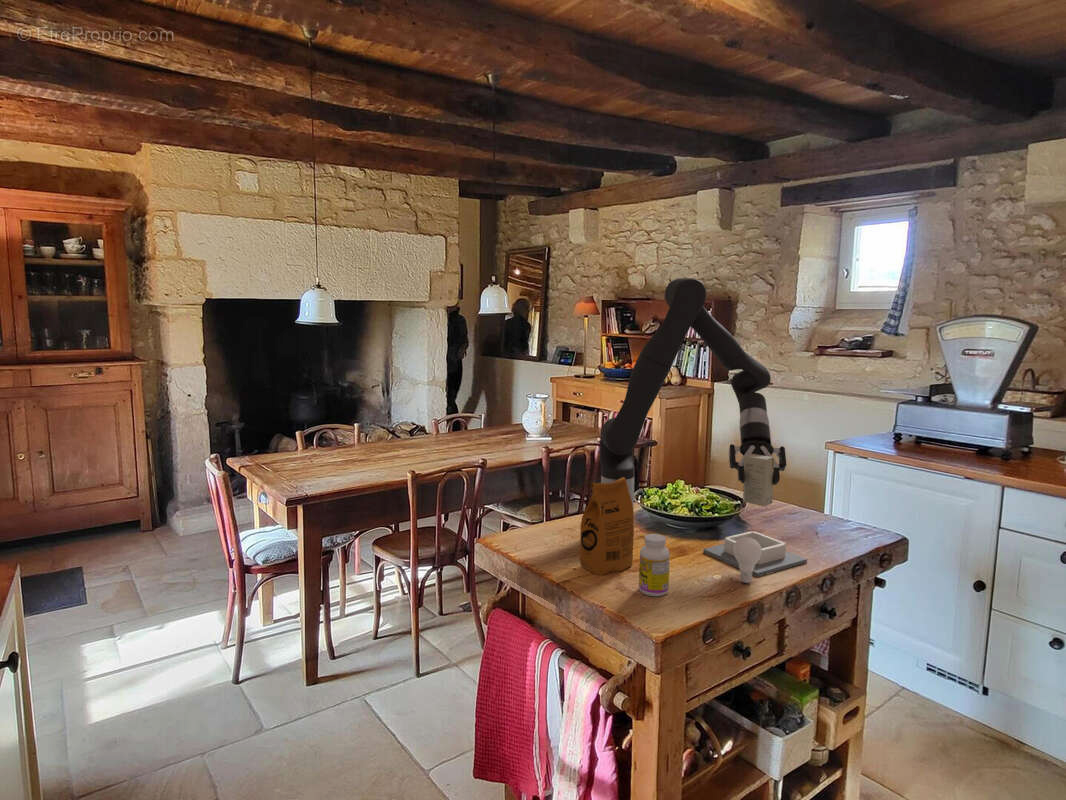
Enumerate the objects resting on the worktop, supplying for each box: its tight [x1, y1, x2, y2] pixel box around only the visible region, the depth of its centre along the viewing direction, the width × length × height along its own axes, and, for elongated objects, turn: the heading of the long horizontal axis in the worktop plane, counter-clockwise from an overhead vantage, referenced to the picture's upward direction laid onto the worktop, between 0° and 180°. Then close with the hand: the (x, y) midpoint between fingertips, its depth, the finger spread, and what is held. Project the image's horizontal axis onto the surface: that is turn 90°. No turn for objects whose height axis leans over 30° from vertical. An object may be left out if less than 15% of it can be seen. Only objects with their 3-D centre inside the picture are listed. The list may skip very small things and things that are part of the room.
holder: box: [703, 530, 808, 577], centre depth 169 cm, size 18×18×4 cm
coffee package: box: [579, 477, 635, 576], centre depth 162 cm, size 10×12×22 cm
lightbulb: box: [733, 537, 762, 584], centre depth 153 cm, size 6×6×11 cm
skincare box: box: [742, 454, 775, 507], centre depth 167 cm, size 6×4×12 cm
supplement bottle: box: [638, 533, 671, 597], centre depth 148 cm, size 7×7×13 cm
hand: (759, 482), depth 166 cm, fingers closed on skincare box, 7 cm apart
